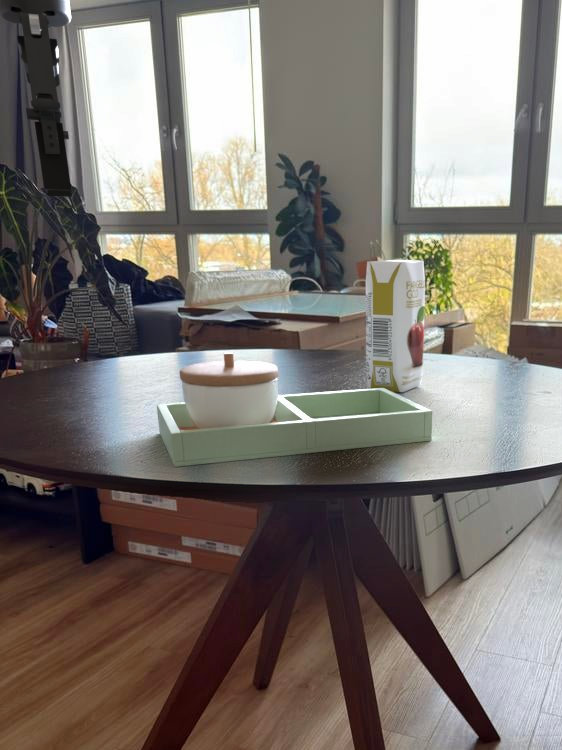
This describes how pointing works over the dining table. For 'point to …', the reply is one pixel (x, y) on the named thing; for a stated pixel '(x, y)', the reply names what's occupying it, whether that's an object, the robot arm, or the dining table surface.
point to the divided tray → (299, 427)
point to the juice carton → (395, 324)
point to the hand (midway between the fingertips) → (59, 193)
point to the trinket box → (230, 392)
